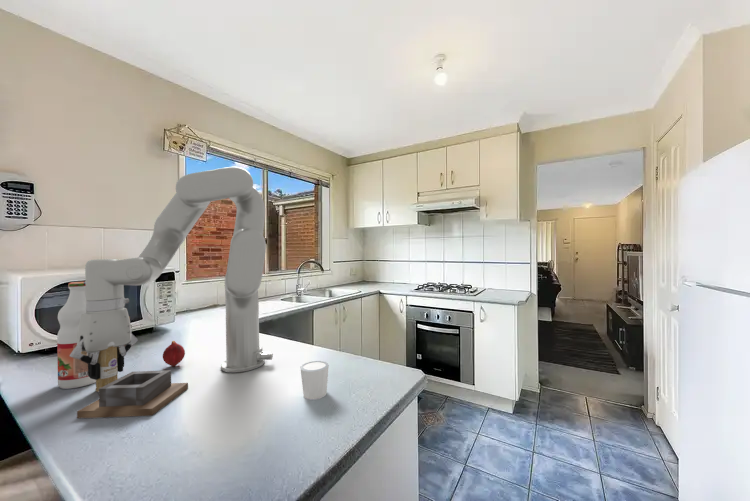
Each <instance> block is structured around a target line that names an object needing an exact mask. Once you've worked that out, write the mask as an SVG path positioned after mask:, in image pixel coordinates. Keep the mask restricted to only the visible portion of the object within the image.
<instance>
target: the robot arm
mask: <svg viewBox="0 0 750 501" xmlns="http://www.w3.org/2000/svg"><path fill="white" fill-rule="evenodd" d="M175 192H176V193H175V194H174V195H173V196H172V198H171V199H170V200H169V202H168V203H167V205H166V206H165V207H164V209H163V210H162V211H161V213H159V215H158V217H157V218H156V219H155V222H154V224H153V226H154V227H153V232H152V236H151V237H150V240H149V241H148V243H147V244H146V245H145V248H143V250H142V251H141V253H140V254H139V256H138V257H132V258H126V259H118V258H117V259H116V258H103V259H102V258H100V259H99V258H97V259H91V260H88V261H86V263H85V268H84V269H85V270H84V271H85V272H84V273H85V274H84V275H85V276H84V277H85V278H84V279H85V281H84V282H85V284H86V313H82V314H81V318H80V322H79V327H78V336H77V346H76V347H75V349H74V350H73V351H72V352H71V354H70V357H72V358H75V359H79V360H81V361H83V362H85V363H87V364H88V376H89V377H90V378H91V379H95V380H97V379H99V378H100V364H99V363H97V360H98V356H99V352H100V351H103V350H105V349H108V347H111V346H108V344H109V343H110V342H114V344H115V345H112V346H113V347H117V362H118V373H121V372H124V367H125V356H126V355H127V353H128V351H129V350H130V349H131V348H132V346H134V345H135V344H136V343H137V342H138V338H137V337H136V336H135V335H134V334H133V333H132V326H131V320H130V319H131V318H129V317H130V316H129V311H128V308H126V307H125V306H126V304H129V303H130V299H129V298H128V297H127V298H125V287H124V286H144V285H146V284H148V283H149V284H150V283H152V282H153V281H155V280H157V279H158V278H160V276H161V275H162V273H163V272H164V271H165V269H166V268H167V266H169V264H170V262H171V261H172V259H173V258H174V257H175V255H176V253H177V252H178V250H179V249H180V246H182V244H183V243H184V241H185V240H186V238H187V236H188V235H189V234H190V232H191V231H192V229H193V228H194V226H195V224H196V223H197V222H198V221H199V219H200V217H201V216H203V214H204V212H205V211H206V209H207V208H208V206H209V205H210V203H211V202H215V201H219V200H220V201H221V200H225V199H229V200H231V201H232V202H233V203H234V205H235V208H236V215H235V222H234V229H233V233H232V237H231V240H230V245H229V246H230V247H229V253H228V259H227V267H226V274H225V276H224V297H225V299H224V300H225V302H224V303H225V352H226V356H225V358H226V360H225V361H223V362H222V363H221V365H220V369H221V370H222V371H223V372H225V373H244V372H248V371H252V370H255V369H257V368H260V367H261V366H263V365H264V364H265V362H266V361H269V360H273V355H274V354H273V353H272V351H264V350H263V346H262V347H261V346H260V316H259V315H260V310H259V309H260V305H259V302H260V301H259V289H260V286H261V284H262V279H263V274H264V273H263V272H264V265H265V259H266V258H265V257H266V253H267V252H266V249H267V244H266V239H265V236H264V228H265V217H266V205H265V202H264V198H263V197H262V195H261V194H260V192H259V191H258V190H257V189H256V187H254V180H253V177H252V175H251V173H250V172H249V171H248V170H247V169H245V168H243V167H239V166H229V167H227V166H226V167H222V168H220V167H219V168H216V169H215V168H214V169H209V170H202V171H198V172H193V173H188V174H185V175H183V176H181V177H180V178H179V179H178V180H177V182H176V184H175ZM82 351H86V352H87V356H86V355H83V354H81V352H82Z"/></svg>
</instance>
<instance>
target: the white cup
mask: <svg viewBox="0 0 750 501" xmlns="http://www.w3.org/2000/svg"><path fill="white" fill-rule="evenodd" d="M329 366H330V365H329V363H328V362H326V361H321V360H315V361H312V360H311V361H308V362H305V363H303V364H301V366H300V374H301V387H302V393H303V398H305V399H306V400H312V401H313V400H315V401H316V400H320V399H323V398H324V397H325V396H326V395H327V392H328V383H329V382H328V381H329V378H328V377H329Z"/></svg>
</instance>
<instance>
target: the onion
mask: <svg viewBox="0 0 750 501" xmlns="http://www.w3.org/2000/svg"><path fill="white" fill-rule="evenodd" d="M185 354H186V351H185V348H184V347H183V346H182V345H181V344H179V343H177V342H176V341H175V340H172V341H171V344H169V345H168V346H167V347H166V348H165V349H164V351H163V353H162V359H163V362H164V363H165V364H166V365H169V366H171V367H175V366H177V365H178V364H180V363H181V362H182V361H183V359H184V358H185Z"/></svg>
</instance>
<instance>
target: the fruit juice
mask: <svg viewBox="0 0 750 501" xmlns="http://www.w3.org/2000/svg"><path fill="white" fill-rule="evenodd" d="M67 287H68V289H69V295H68V298H67V300H66V302H65V304H64V305H63V306H62V307H61V308H60V309H59V310H58V314H57V320H58V323H59V326H60V327H59V330H58V332H57V337H56V339H57V340H56V344H57V346H56V347H57V350H56V352H57V355H56V356H57V358H56V359H57V386H58V388H60V389H62V390H66V389H68V390H69V389H76V388H81V387H85V386H88V385H89V386H90V385H93V384H96V380H95V379H91V378H90V377H89V376H88V364H87V363H85V362H83V361H81V360H79V359H75V358H72V357H70V354H71V352H72V351H73V350H74V349H75V347H76V346H77V336H78V327H79V322H80V318H81V314H82V313H86V284H85V281H75V282H74V281H73V282H68V285H67ZM81 354H83V355H86V356H87V352H86V351H82V352H81Z"/></svg>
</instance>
